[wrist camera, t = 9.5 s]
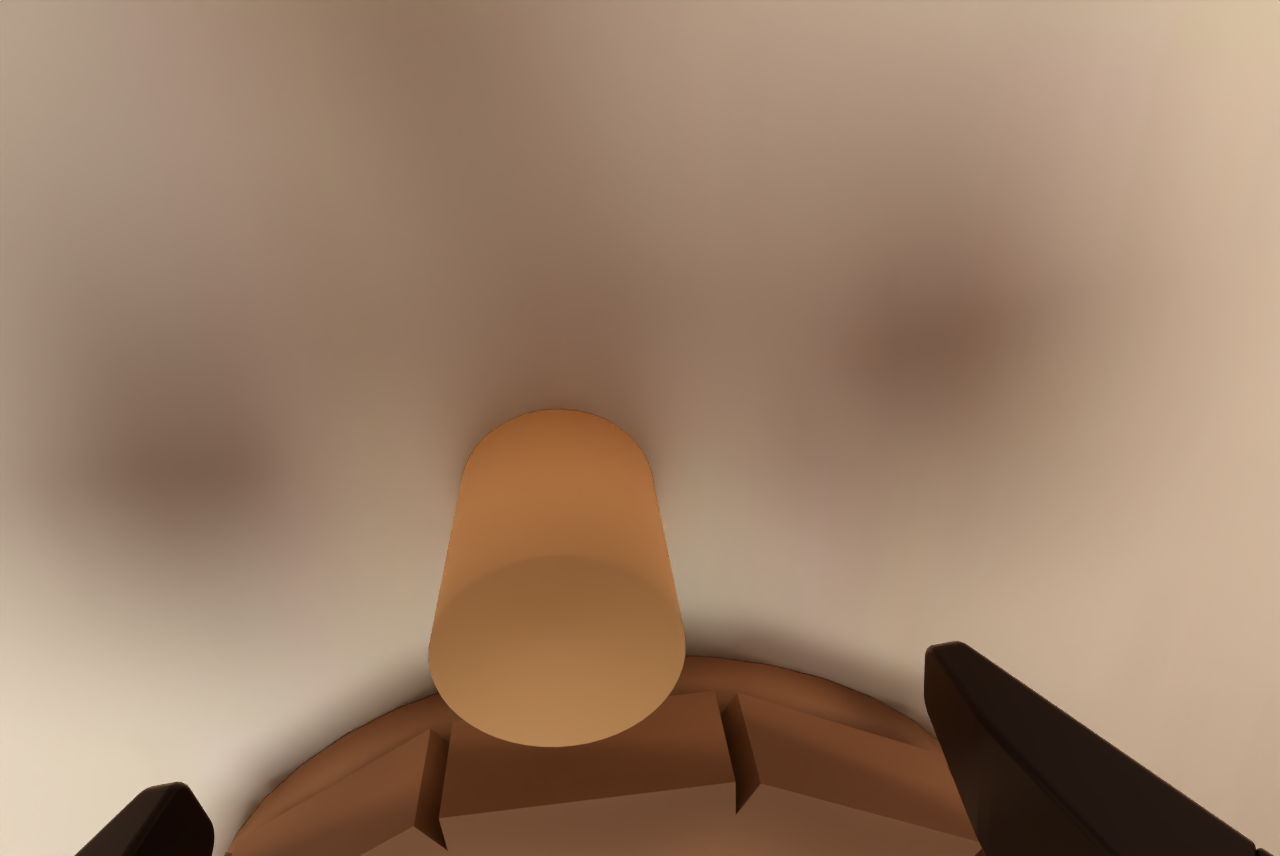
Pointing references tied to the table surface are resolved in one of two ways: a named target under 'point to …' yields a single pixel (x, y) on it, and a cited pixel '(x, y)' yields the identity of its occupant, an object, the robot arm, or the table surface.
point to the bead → (556, 586)
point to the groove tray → (633, 782)
